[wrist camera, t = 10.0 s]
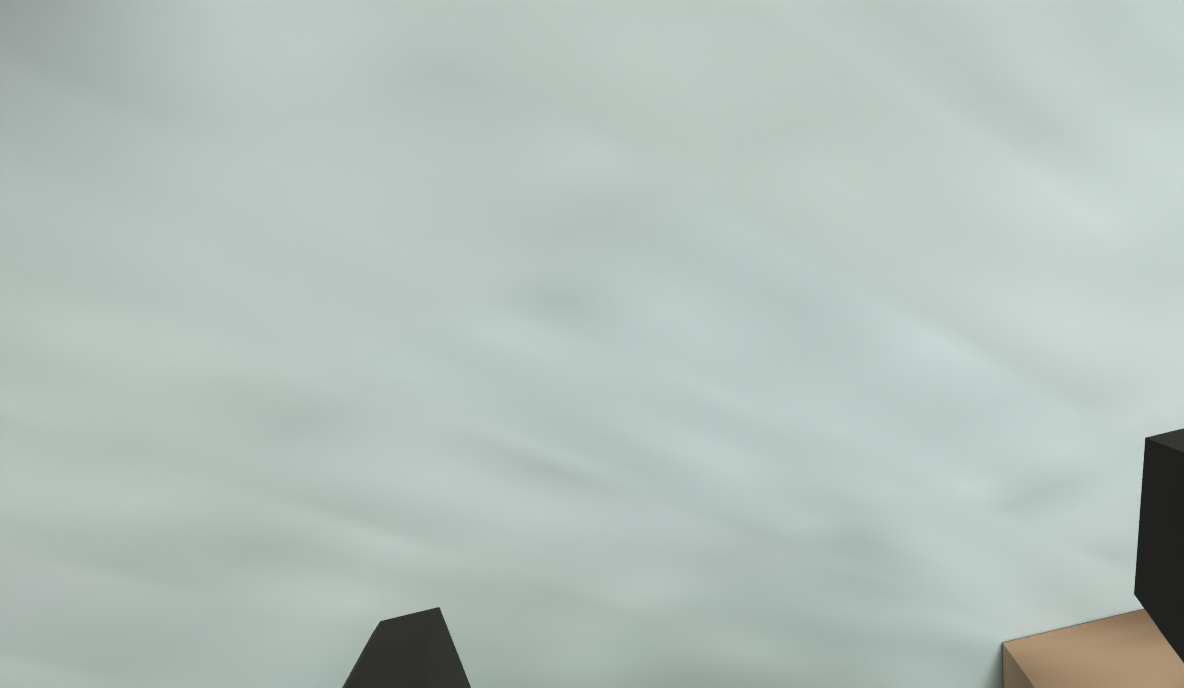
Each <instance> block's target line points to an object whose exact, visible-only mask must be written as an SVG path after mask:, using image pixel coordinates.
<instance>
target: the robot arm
mask: <svg viewBox="0 0 1184 688" xmlns="http://www.w3.org/2000/svg"><path fill="white" fill-rule="evenodd" d="M1134 594H1135V596H1136V597H1137V599H1138V600H1139V602H1140V603H1141V604H1142V606H1143V607H1144V609H1145V610H1146V611H1147V613H1148V614H1149V616H1150V617H1151V619H1152V620H1153V621H1154V623H1155V624H1156V626H1157V627H1158V629H1159V630H1160V631H1161V633H1162V634H1163V636H1164V637H1165V638H1166V640H1167V641H1168V643H1169V644H1170V645H1171V647H1172V648H1173V649H1174V651H1175V652H1176V653H1177V655H1178V656H1179V657H1180V659H1181V660H1182V661H1183V663H1184V429H1180V430H1176V431H1171V432H1167V433H1163V434H1159V435H1155V436H1151V437H1146V438H1145V450H1144V464H1143V478H1142V492H1141V506H1140V520H1139V533H1138V547H1137V561H1136V575H1135V589H1134ZM343 688H471V687H470V684H469V682H468V679H467V676H466V674H465V671H464V669H463V666H462V664H461V661H460V659H459V656H458V654H457V651H456V648H455V646H454V643H453V641H452V638H451V636H450V633H449V631H448V628H447V625H446V623H445V620H444V618H443V615H442V613H441V610H440V608H439V607H438V608H434V609H429V610H425V611H421V612H417V613H413V614H409V615H404V616H400V617H396V618H392V619H388V620H384V621H380V623H379V624H378V626H377V627H376V629H375V630H374V632H373V633H372V635H371V637H370V639H369V640H368V642H367V644H366V646H365V648H364V649H363V651H362V653H361V655H360V657H359V658H358V660H357V662H356V664H355V666H354V668H353V669H352V671H351V673H350V675H349V677H348V678H347V680H346V682H345V684H344V686H343Z"/></svg>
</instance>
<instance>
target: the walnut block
mask: <svg viewBox="0 0 1184 688" xmlns="http://www.w3.org/2000/svg"><path fill="white" fill-rule="evenodd" d="M1003 688H1184V663H1183V661H1182V660H1181V659H1180V657H1179V656H1178V655H1177V653H1176V652H1175V651H1174V649H1173V648H1172V647H1171V645H1170V644H1169V643H1168V641H1167V640H1166V638H1165V637H1164V636H1163V634H1162V633H1161V631H1160V630H1159V629H1158V627H1157V626H1156V624H1155V623H1154V621H1153V620H1152V619H1151V617H1150V616H1149V614H1148V613H1147V611H1146V610H1145V609H1143V610H1138V611H1134V612H1130V613H1126V614H1122V615H1117V616H1113V617H1109V618H1105V619H1101V620H1096V621H1092V622H1088V623H1084V624H1080V625H1075V626H1071V627H1067V628H1063V629H1059V630H1054V631H1050V632H1046V633H1042V634H1037V635H1033V636H1029V637H1025V638H1021V639H1016V640H1012V641H1008V642H1004V643H1003Z"/></svg>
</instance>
